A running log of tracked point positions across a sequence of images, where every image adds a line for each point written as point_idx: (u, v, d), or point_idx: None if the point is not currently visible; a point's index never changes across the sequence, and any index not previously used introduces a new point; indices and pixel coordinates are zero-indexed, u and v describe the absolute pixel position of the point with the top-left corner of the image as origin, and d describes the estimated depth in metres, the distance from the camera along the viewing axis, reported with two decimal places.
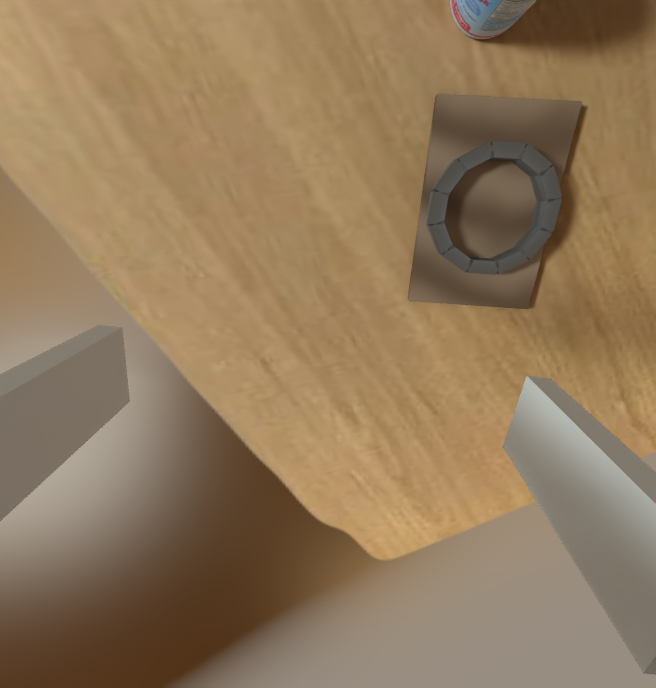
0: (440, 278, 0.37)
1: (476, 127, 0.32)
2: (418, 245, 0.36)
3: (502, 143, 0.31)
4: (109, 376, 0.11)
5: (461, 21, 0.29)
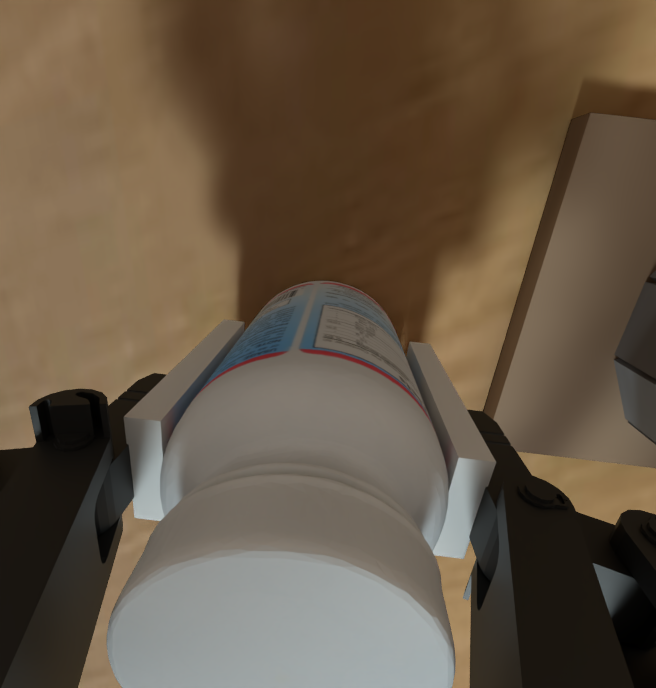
0: None
1: (571, 374, 0.14)
2: None
3: None
4: None
5: None
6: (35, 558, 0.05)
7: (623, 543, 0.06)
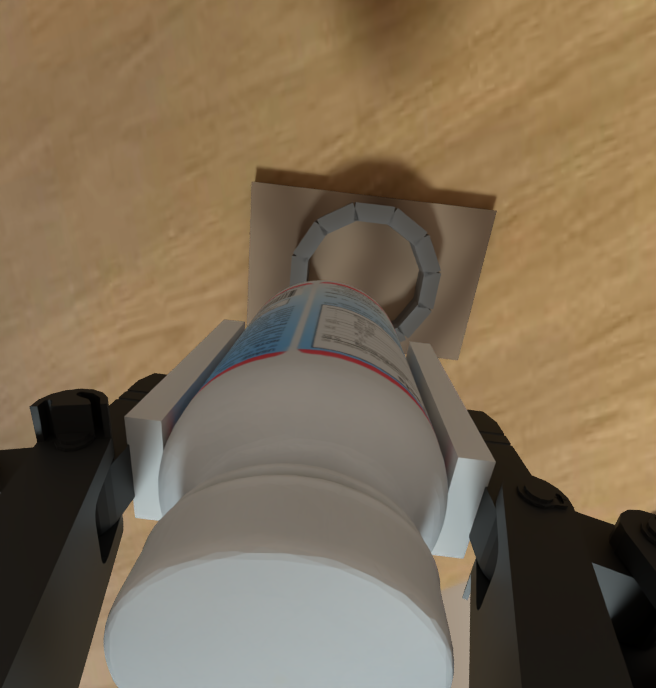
0: (436, 325, 0.31)
1: None
2: None
3: (291, 281, 0.28)
4: None
5: None
6: (36, 558, 0.05)
7: (622, 543, 0.06)
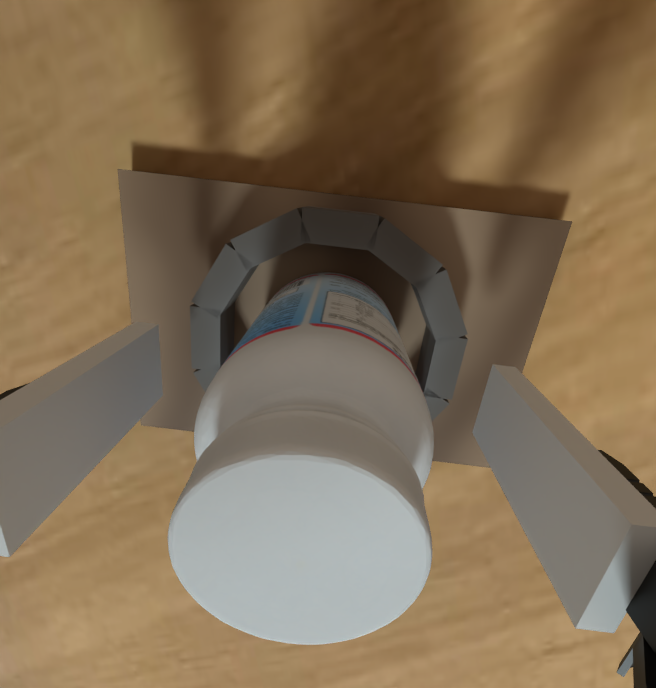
0: (455, 414, 0.18)
1: (182, 365, 0.18)
2: None
3: (194, 351, 0.15)
4: (147, 370, 0.12)
5: None
6: None
7: None
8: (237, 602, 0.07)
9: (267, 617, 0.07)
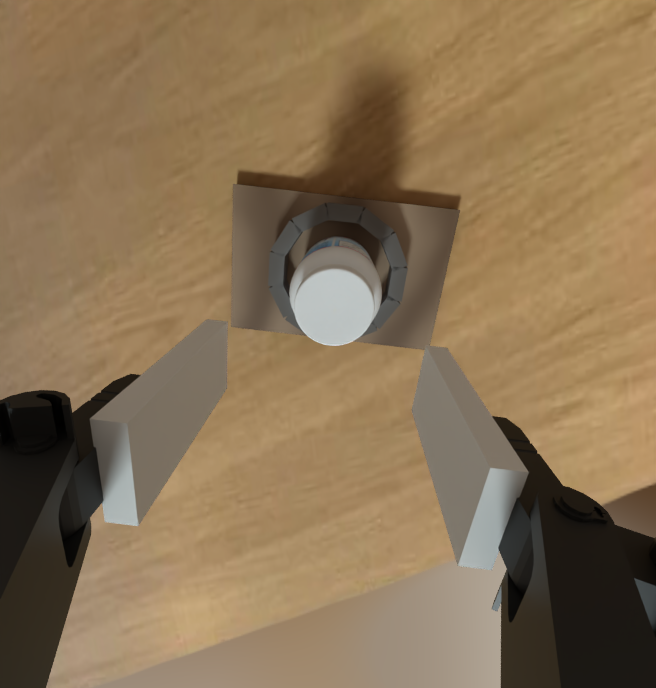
0: (407, 317, 0.33)
1: (258, 290, 0.32)
2: (368, 341, 0.34)
3: (270, 276, 0.30)
4: (219, 364, 0.13)
5: None
6: None
7: None
8: (313, 327, 0.22)
9: (323, 333, 0.22)
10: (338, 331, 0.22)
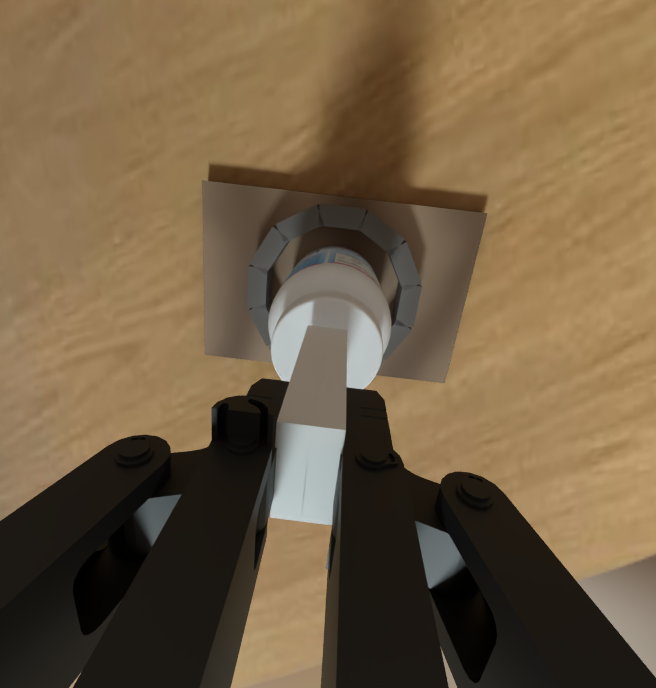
0: (419, 344, 0.27)
1: (236, 311, 0.26)
2: None
3: (249, 296, 0.24)
4: None
5: None
6: (218, 562, 0.05)
7: (443, 507, 0.07)
8: None
9: None
10: None
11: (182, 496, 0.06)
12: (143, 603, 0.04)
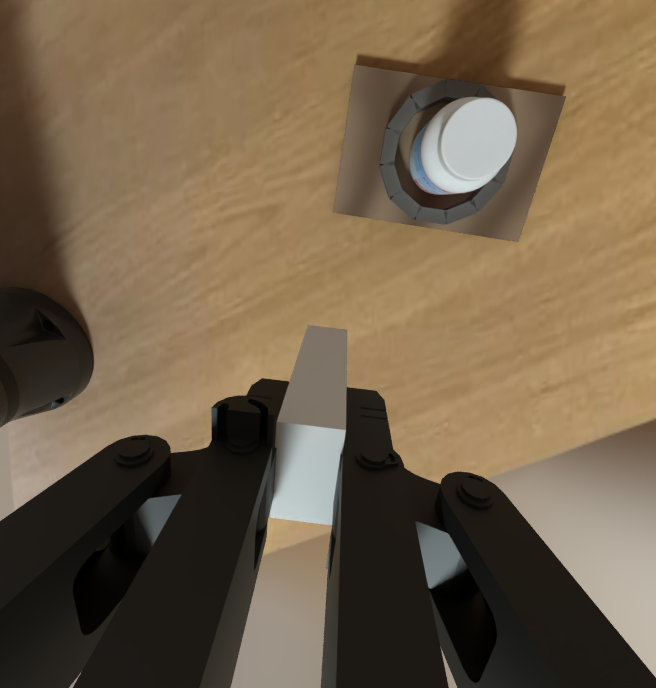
0: (502, 207, 0.35)
1: (363, 174, 0.35)
2: (461, 231, 0.36)
3: (383, 153, 0.32)
4: None
5: None
6: (217, 562, 0.05)
7: (443, 508, 0.07)
8: (457, 159, 0.24)
9: (464, 165, 0.24)
10: (479, 164, 0.24)
11: (182, 496, 0.06)
12: (143, 603, 0.04)
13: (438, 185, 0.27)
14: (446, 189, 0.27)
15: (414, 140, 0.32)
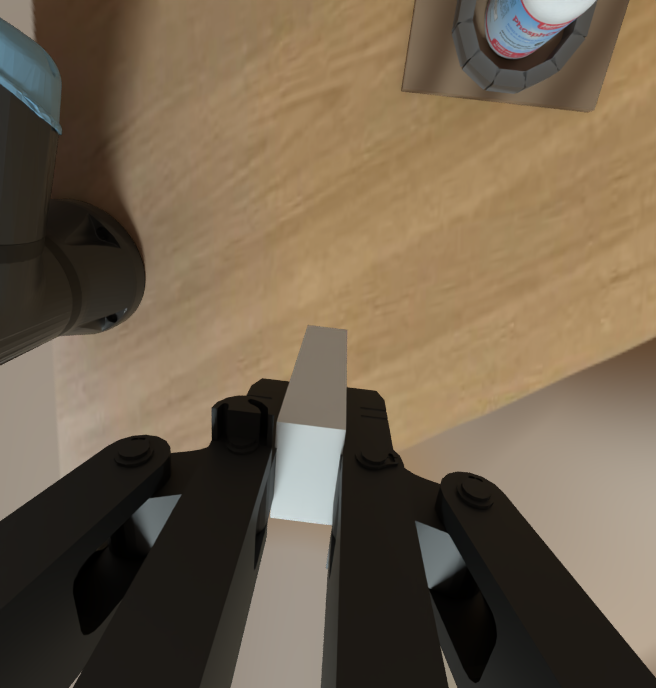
0: (578, 71, 0.34)
1: (435, 43, 0.34)
2: (536, 101, 0.35)
3: (461, 9, 0.31)
4: None
5: (543, 44, 0.32)
6: (217, 562, 0.05)
7: (443, 508, 0.07)
8: None
9: None
10: None
11: (182, 496, 0.06)
12: (143, 603, 0.04)
13: (538, 13, 0.26)
14: (546, 17, 0.26)
15: None
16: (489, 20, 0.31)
